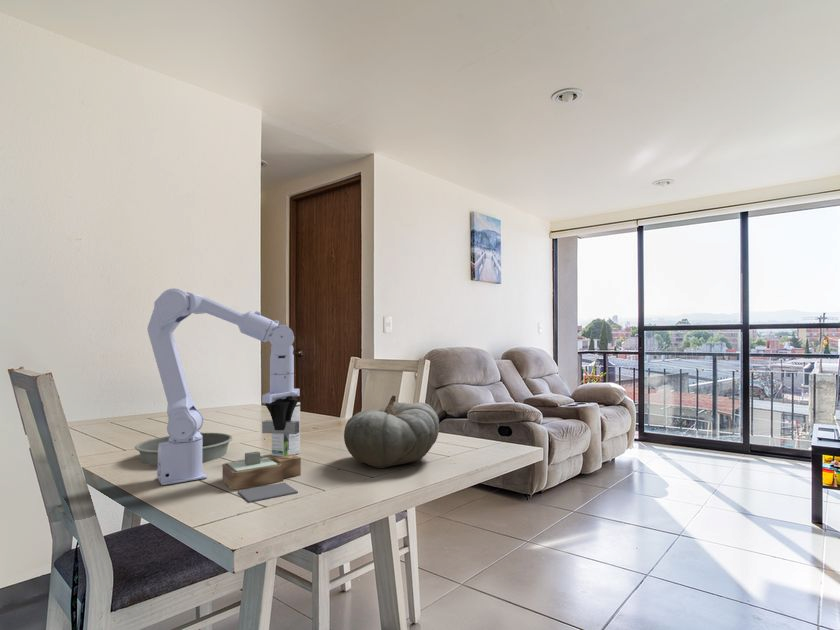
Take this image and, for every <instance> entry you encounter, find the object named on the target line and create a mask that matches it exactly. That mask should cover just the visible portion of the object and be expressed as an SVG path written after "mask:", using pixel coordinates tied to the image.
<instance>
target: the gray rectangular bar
mask: <svg viewBox="0 0 840 630" xmlns="http://www.w3.org/2000/svg"><path fill="white" fill-rule="evenodd" d="M261 423H262V424H261V429H262V430H261V431H262V432H261V433H262V434H272V433H274V434H297V433H299V421H286V418H285V426H284V430H275V429H274V425H273V421H272V419H271V420H270V419H269V420H263V421H262V422H261Z"/></svg>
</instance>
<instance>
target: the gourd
mask: <svg viewBox="0 0 840 630" xmlns="http://www.w3.org/2000/svg"><path fill="white" fill-rule="evenodd" d="M396 397H397V396H396V395H391V397H390V400H389V401H388V404H387V406H386V407H383V408H380V409H379V410H375V409H366V410H363V411H359V412H356V413H355V414H354V415H353V416H351V417H350V418H349V419H348V420H347V422H346V424H345V427H344V431H343V439H344V445H345V447H346V450H348V453H349V454H350V455H351V456H352V457H353V458H354V460H355V461H357V462H360V463H362V464H367V465H369V466H371V467H375V468H377V469H378V468H379V469H384V468H385V469H386V468H387V467H392V466H397V465H405V464H408V463H415V462H418V461H420V460H422V459H423V458H424V457H425V456H426V455H427V453H429V451H430V450H431V449H432V447H433V446H434V444H435V443H436V441H437V439H438V436H439V433H440V419H439V416H438V414H437V413H436V411H435V410H434V408H433V407H432V406H431V405H429V404H428V403H425V402H414V403H407V402H396Z"/></svg>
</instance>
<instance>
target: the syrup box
mask: <svg viewBox="0 0 840 630" xmlns="http://www.w3.org/2000/svg"><path fill="white" fill-rule="evenodd" d="M291 421H299V433H297V434H274V433H271V456H272V457H277V456H283V455H290V454H294V455H296V456H297V455H298V454H300V453H301V401H298V403H297V404H296V406H295V408H294V411H293V414H292V418H291Z"/></svg>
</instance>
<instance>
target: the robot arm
mask: <svg viewBox="0 0 840 630" xmlns="http://www.w3.org/2000/svg"><path fill="white" fill-rule="evenodd" d="M192 314H194V315H203V314H208V315H210V316H213V317H215V318H218V319H221V320H223V321H225V322H228V323H231V324H235V325H236V326H237V327H238V330H239V332H240V333H242V334H243V335H246V336H249V337H250V338H253V339H255V340H258V341H260V342H264V343H267V342H270V345H271V346H270V351H271V352H270V353H271V354H270V356H269V391H268V392H266V393H264V394H262V395H261V397H262V398H261V403H262V404H265V407H266V408H267V410H268V412H269V414H270V418H271V420H272V421H273V425H274V429H275V430H284V426H285V418H286V421H291V418H292V414H293V411H294V408H295V406H296V404H297V403H298V402H299V398H297V397H300V396H301V395H300V393H301V392H300V388H295V355H294V346H293V344H294V342H295V338H296V337H295V336H294V335H295V334H294V332H293V330H292V329H291V327H289V326H287V325H285V324H280V321H279V320H277V319H275V320H272V319H270V318H269V317H266V316H263V315H262V313H261V312H260V311H258V310H256V311H255V312H254V311H247V312H245V313H242V312H240V311H237V310H235V309H233V308H231V307H228V306H226V305H224V304H222V303H220V302H217V301H215V300H213V299H211V298H208V297H206V296H203V295H199V294H195V293H191V292H188V291H183V290H182V289H179V288H169V289H166V290H164V291H163V292H162V293H161V294H160V295H159V297H158V298H157V299H155V301H154V305H153V310H152V313H151V316H150V318H149V319H150V320H149V322H148V324H147V335H148V338H149V340H150V345H151V348H152V352H153V355H154V358H155V363H156V365H157V370H158V373H159V377H160V379H161V383H162V387H163V390H164V394H165V397H166V401H167V409H166V413H167V417H168V420H167V421H168V422H167V424H166V431H167V434H168V436H170V438H169V441H167V442H163V443H159V445H158V466H157V468H156V475H157V476H156V478H157V480H158V481H159V483H160V484H161V486H165V485H172V484H177V483H185V482H190V481H195V480H196V481H197V480H203V479H207V478H208V475H207V474H206V473H205V472H204V471H203V462H202V445H203V436H202V435H201V434H200V433H201V432H200V430H201V428H203V425H204V415H203V413H202V412H201V411H199V409H198V408H197V406H196V402H195V400H194V399H193V398H192V396H191V394H190V389H189V387H188V382H187V379H186V376H185V372H184V368H183V365H182V362H181V358H180V354H179V351H178V347H177V344H176V340H175V336H174V331H175V330H176V329H177V328H178V326H179V325H180V323H181V322H182V321H183V320H186V319H187V318H188V317H190V316H191V315H192ZM294 397H295V398H294Z"/></svg>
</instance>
